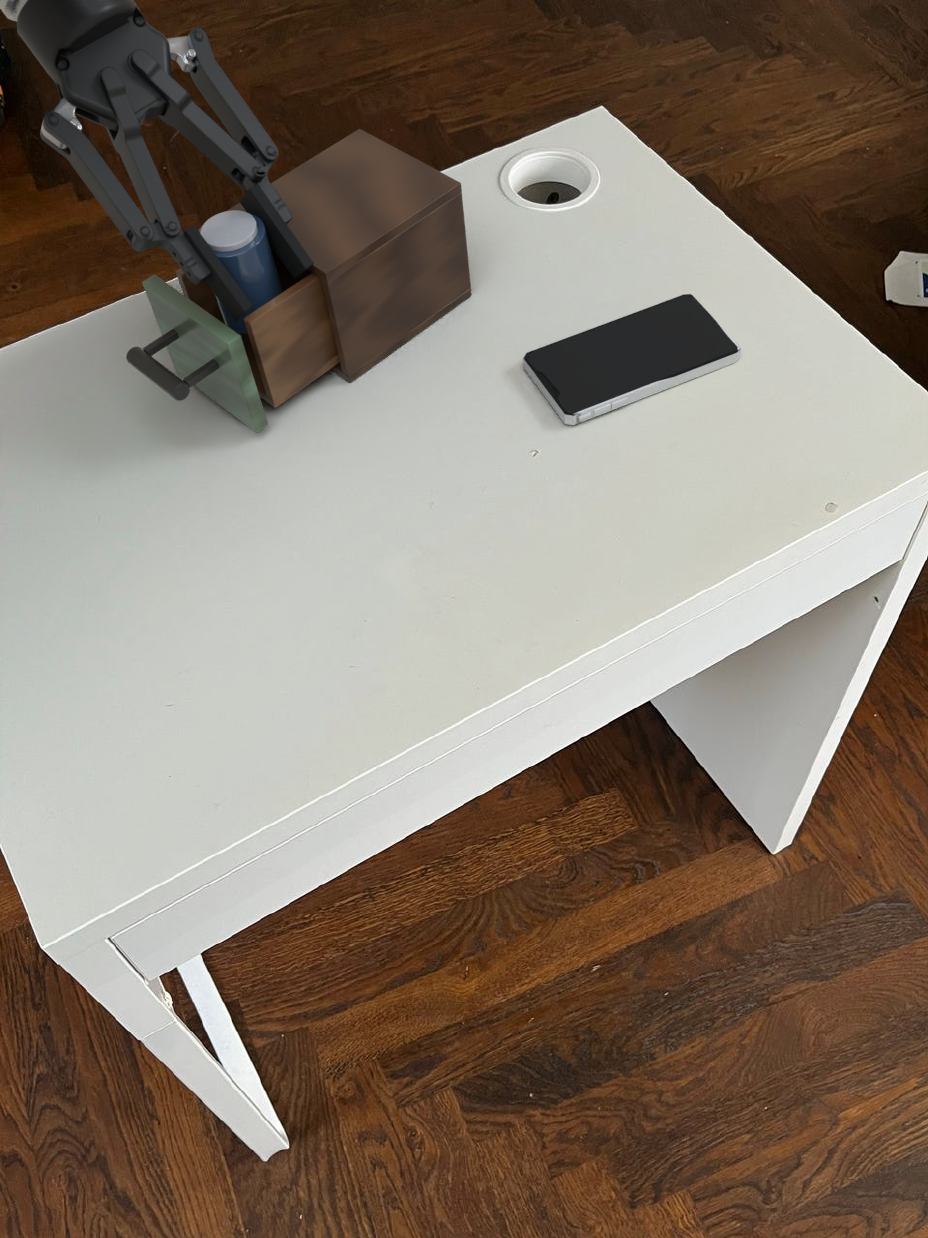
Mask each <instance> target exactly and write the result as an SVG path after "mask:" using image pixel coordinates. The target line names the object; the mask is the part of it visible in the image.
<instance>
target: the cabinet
mask: <svg viewBox="0 0 928 1238" xmlns="http://www.w3.org/2000/svg"><path fill="white" fill-rule="evenodd" d="M270 183H271V184H272V186H273V187H274V189H275V190H276V191H277V193H278V194H279V196H280V197H281V199H282V200H283V201H284V203H285V205H286V206H287V207H288V209H289V210H290V212H291V216H292V220H291V221H290V222H289V223H288V224H287V226H288V227H289V229H290V230H291V231H292V233H293V234H294V236H295V237H296V239H297V240H298V241H299V243H300V244H301V246H302V247H303V249H304V250H305V251H306V253H307V254H308V256H309V257H310V258H311V260H312V261H313V263H314V264H313V265H312V266H311V267H310V268H309V269H308V270H309V271H311V272H312V273H314V274H315V275H317V276H319V277H320V278H321V281H322V285H323V289H324V294H325V298H326V303H327V307H328V312H329V316H330V320H331V325H332V329H333V334H334V338H335V343H336V347H337V351H338V356H339V360H340V362H339V363H338V364H337V365H335V366H334V367H332V368H331V369H330V370H329V371H331V372H333V373H334V374H335V375H337V376H338V377H339V378H342V380H344V381H346V382H347V383H349V384H352V383H353V382H354V381H356V380H358V379H359V378H360V377H361V376H362V375H364V374H365V373H366V372H368V371H369V370H371V369H372V368H373V367H375V366H377V365H378V364H380V362H382V361H383V360H385V359H386V358H388V356H390V355H392V354H393V353H395V352H396V351H397V350H398V349H400V348H401V347H403V346H404V345H406V344H407V343H408V342H410V341H411V340H412V339H414V338H415V337H416V336H418V335H419V334H421V333H423V331H425V330H426V329H428V328H429V327H430V326H432V325H433V324H434V323H436V322H437V321H439V320H440V319H441V318H443V317H444V316H445V315H447V314H449V312H451V311H452V310H454V309H456V308H457V307H458V306H460V305H461V304H462V303H463V302H465V301H466V300H467V299H469V298H470V297H472V285H471V284H472V283H471V273H470V264H469V254H468V253H469V252H468V245H467V244H468V242H467V234H466V223H465V221H466V220H465V213H464V202H463V193H462V191H463V189H462V182H460V181H458V180H456V179H454V178H453V177H451V176H449V175H447V174H445V173H443V172H441V171H439V170H437V169H436V168H435V167H432V166H430V165H428V164H426V163H425V162H423V161H421V160H419V159H417V158H415V157H413V156H411V155H410V154H408V153H406V152H404V151H402V150H400V149H399V148H396V147H395V146H392V145H391V144H389V143H387V142H385V141H384V140H381V138H378V137H376V136H374V135H372V134H370V133H369V132H366V131H365V130H363V129H360V128H358V129H357V130H355V131H353V132H352V133H350V134H349V135H347V136H346V137H344V138H342V139H341V140H339V141H337V142H336V143H334V144H332V145H331V146H329V147H328V148H326V149H324V150H322V151H321V152H319V153H318V154H316V155H315V156H313V157H311V158H310V159H308V160H306V161H304V163H302V164H300V165H298V166H296V167H294V168H293V169H291V170H290V171H289V172H287V173H286V174H284V175H282V176H281V177H279V178H277V179H276V180H274V181H272V182H270ZM233 210H238V211H244V212H246V210H245V209H244V208H243V206H242V205H241V203H240V202H239V203H237V204H235V205H234V206H231V207H230V208H229V209H227V210H226V211H233Z"/></svg>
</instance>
